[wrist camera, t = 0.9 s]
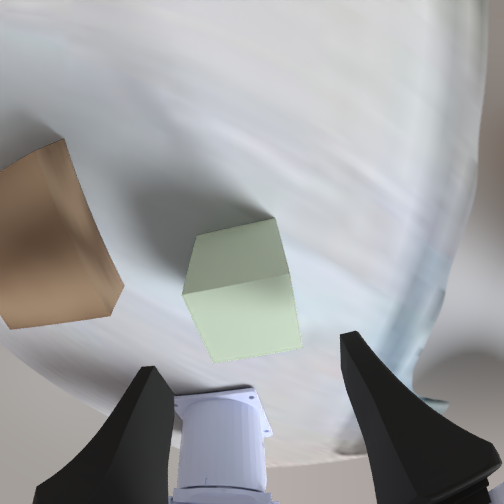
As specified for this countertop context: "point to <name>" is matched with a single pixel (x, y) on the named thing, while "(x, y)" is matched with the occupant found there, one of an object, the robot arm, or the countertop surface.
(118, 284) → the walnut base
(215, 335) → the sage cube
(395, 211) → the countertop surface
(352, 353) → the robot arm
